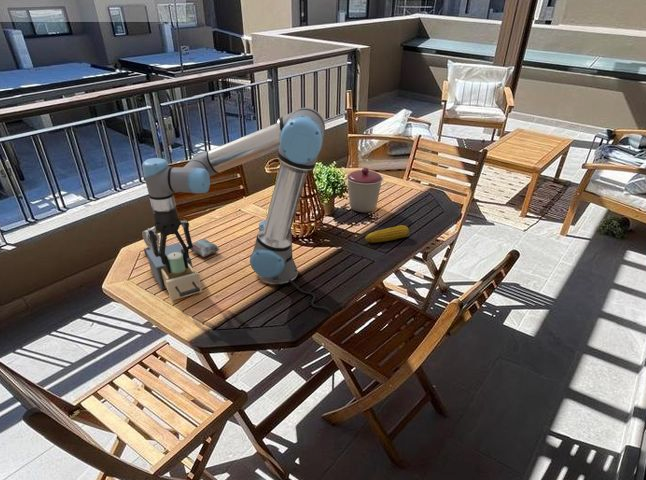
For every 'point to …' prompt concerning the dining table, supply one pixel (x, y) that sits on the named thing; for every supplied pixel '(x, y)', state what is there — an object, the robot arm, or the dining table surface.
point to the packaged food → (204, 247)
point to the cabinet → (157, 264)
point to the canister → (364, 189)
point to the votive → (176, 262)
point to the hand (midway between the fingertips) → (177, 268)
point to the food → (387, 234)
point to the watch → (149, 240)
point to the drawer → (181, 282)
